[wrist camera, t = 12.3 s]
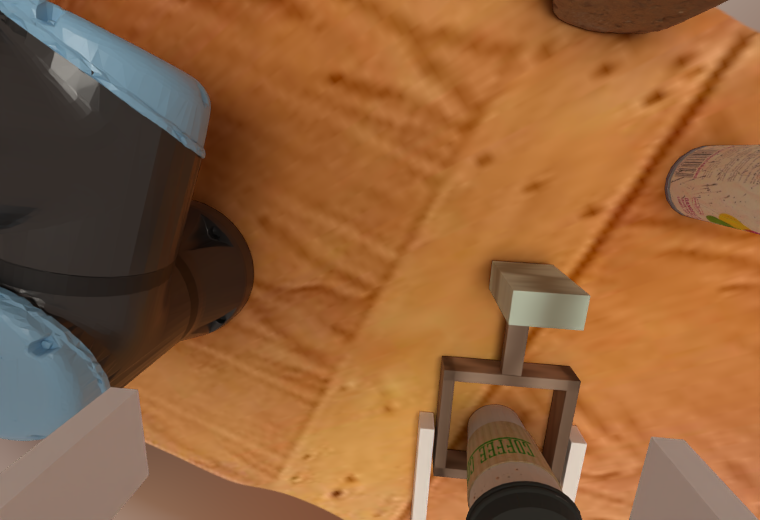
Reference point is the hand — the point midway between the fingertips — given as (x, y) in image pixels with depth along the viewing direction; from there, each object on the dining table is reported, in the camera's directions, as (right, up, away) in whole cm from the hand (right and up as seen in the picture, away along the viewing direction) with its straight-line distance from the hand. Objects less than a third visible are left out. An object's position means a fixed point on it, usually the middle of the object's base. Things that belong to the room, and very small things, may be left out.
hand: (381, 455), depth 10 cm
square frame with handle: (+14, -7, +35) cm, 38 cm away
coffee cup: (+13, -15, +37) cm, 42 cm away
